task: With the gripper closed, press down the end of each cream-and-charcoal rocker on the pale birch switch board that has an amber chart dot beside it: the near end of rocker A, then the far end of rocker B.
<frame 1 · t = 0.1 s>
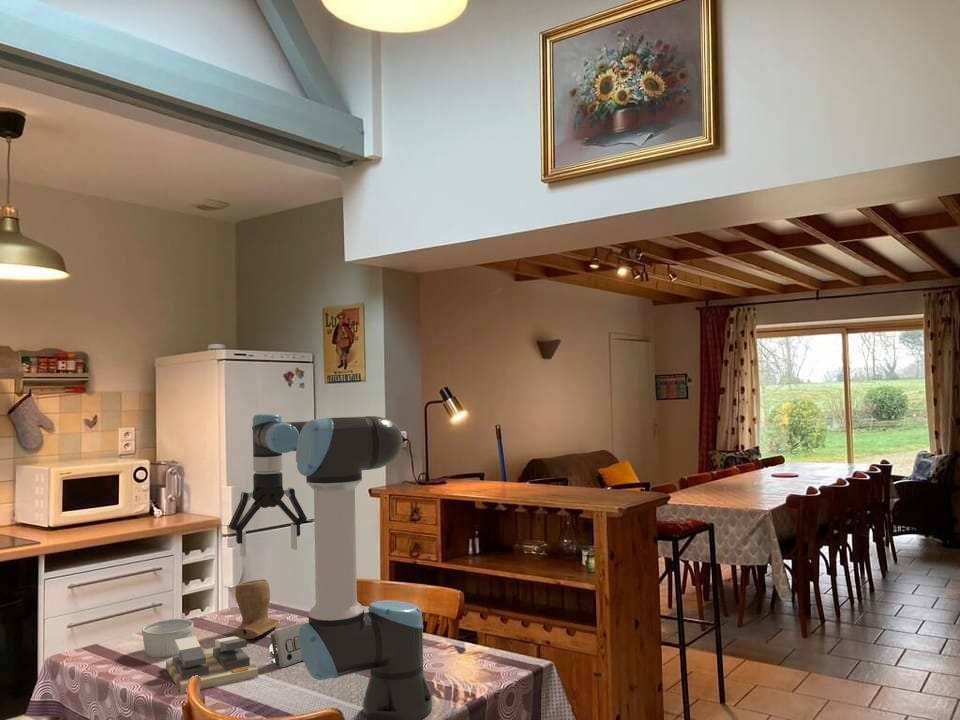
hand: (269, 552, 207), 28 cm above the table, fingers open, 13 cm apart
electrical switch: (289, 662, 203), on the table
switch board: (211, 672, 197), on the table
ramekin: (168, 651, 214), on the table
rocker b: (190, 652, 194), point 6 cm above the table, hinge at -10.0°
tan piece: (253, 633, 228), on the table
rocker a: (230, 644, 200), point 6 cm above the table, hinge at 10.0°
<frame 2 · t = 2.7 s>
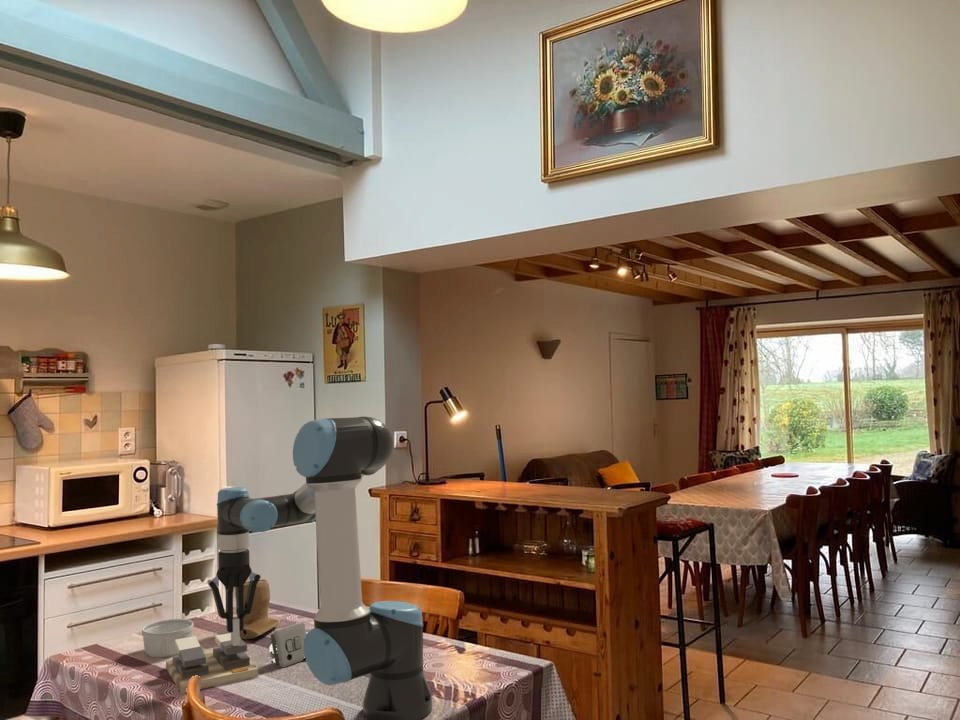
hand: (235, 644, 196), 7 cm above the table, fingers closed
rocker a: (230, 644, 200), point 6 cm above the table, hinge at -0.4°, touching gripper
everything else where it was.
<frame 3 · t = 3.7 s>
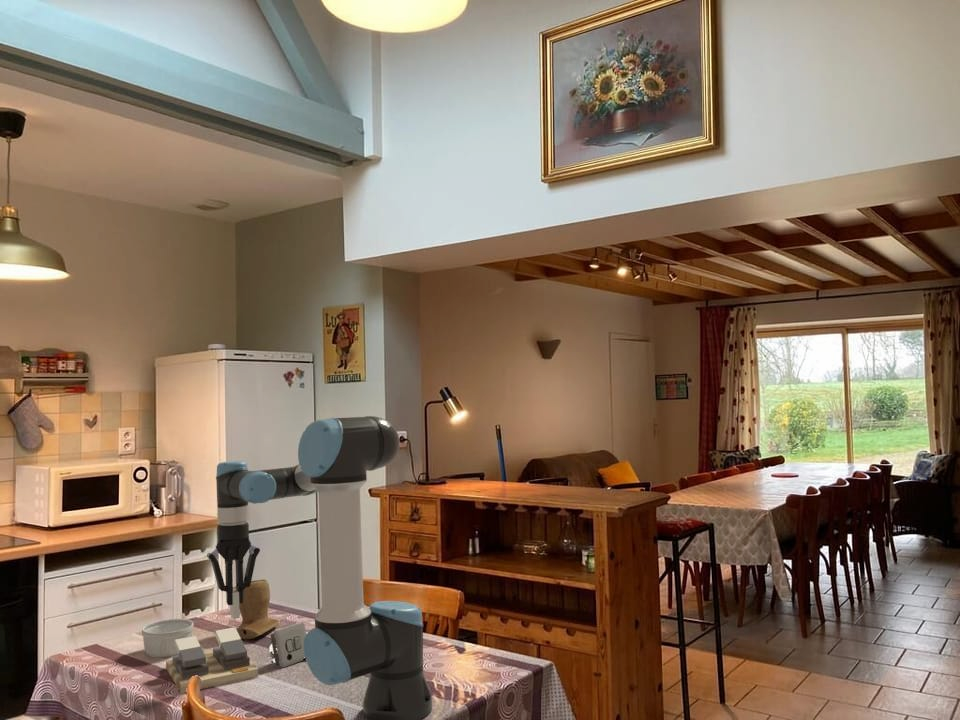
hand: (235, 617, 196), 14 cm above the table, fingers closed
rocker a: (230, 645, 200), point 6 cm above the table, hinge at -15.1°
everything else where it was.
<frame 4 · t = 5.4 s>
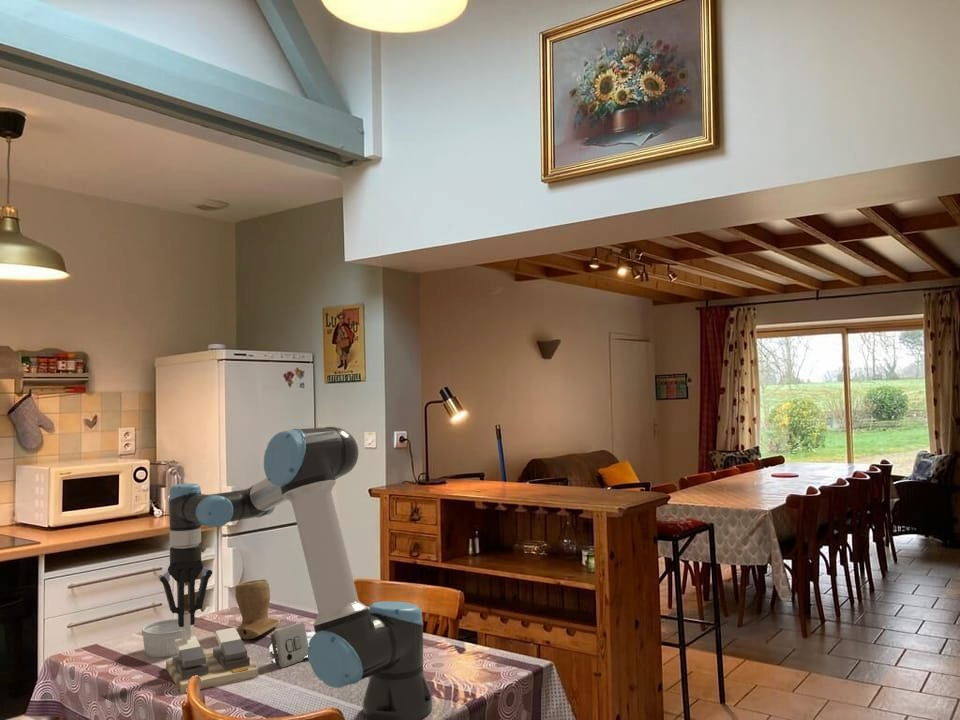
hand: (186, 638, 198), 8 cm above the table, fingers closed
rocker b: (190, 652, 194), point 6 cm above the table, hinge at -10.0°, touching gripper
rocker a: (230, 645, 200), point 6 cm above the table, hinge at -14.4°
everything else where it was.
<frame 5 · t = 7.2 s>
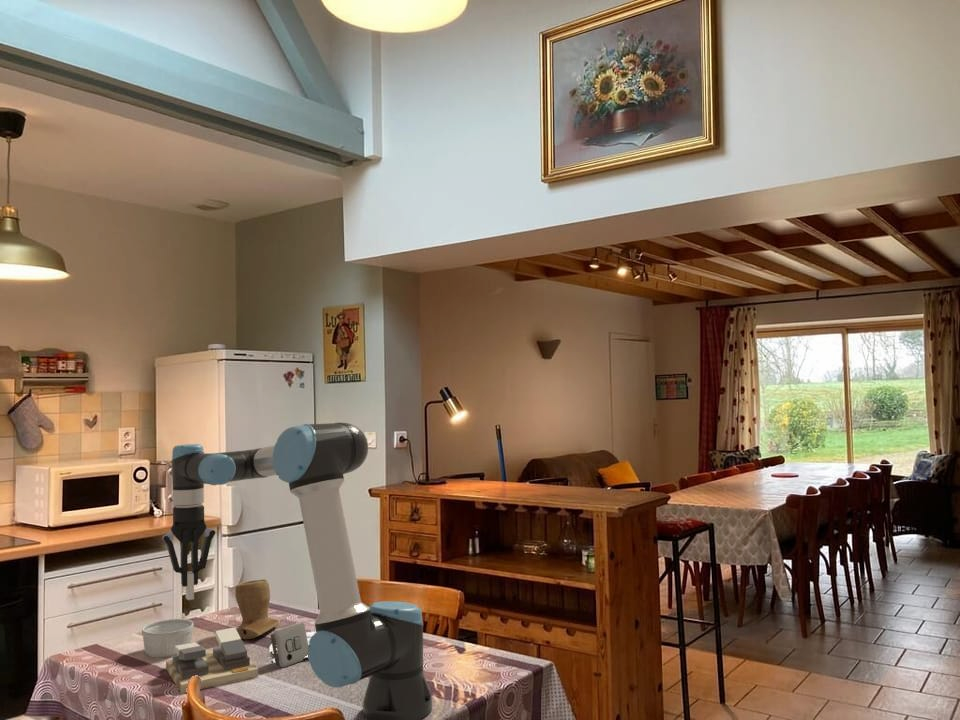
hand: (189, 598, 198), 18 cm above the table, fingers closed
rocker b: (189, 652, 194), point 6 cm above the table, hinge at 6.5°
everything else where it was.
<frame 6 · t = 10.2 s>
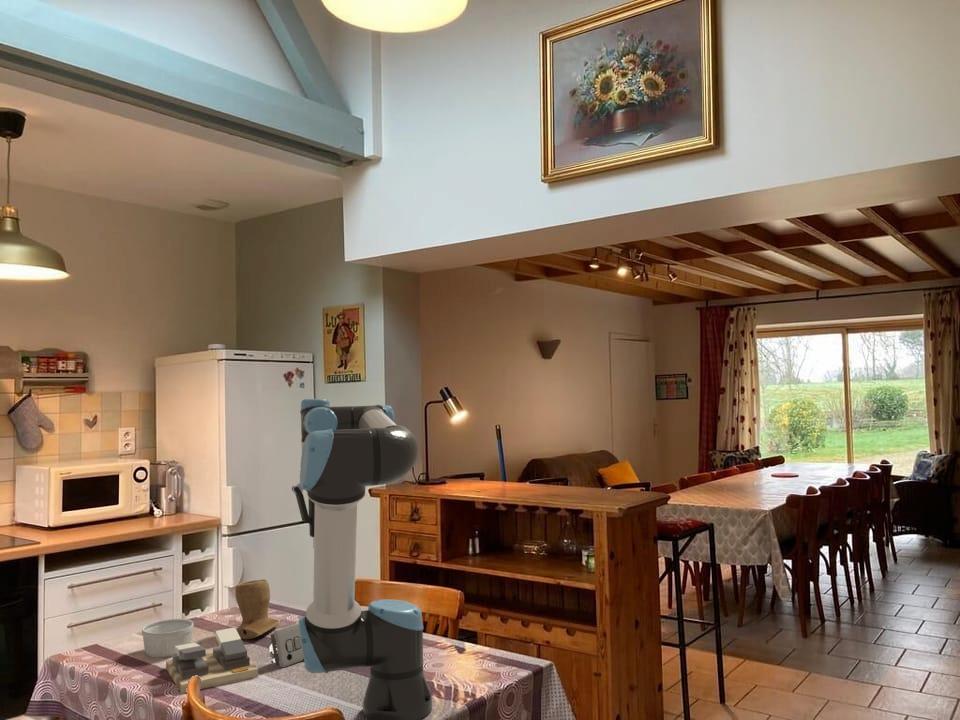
hand: (317, 548, 202), 29 cm above the table, fingers closed
rocker b: (189, 652, 194), point 6 cm above the table, hinge at 7.0°
everything else where it was.
at the end: rocker a at -14° (first picture: +10°); rocker b at +7° (first picture: -10°) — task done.
